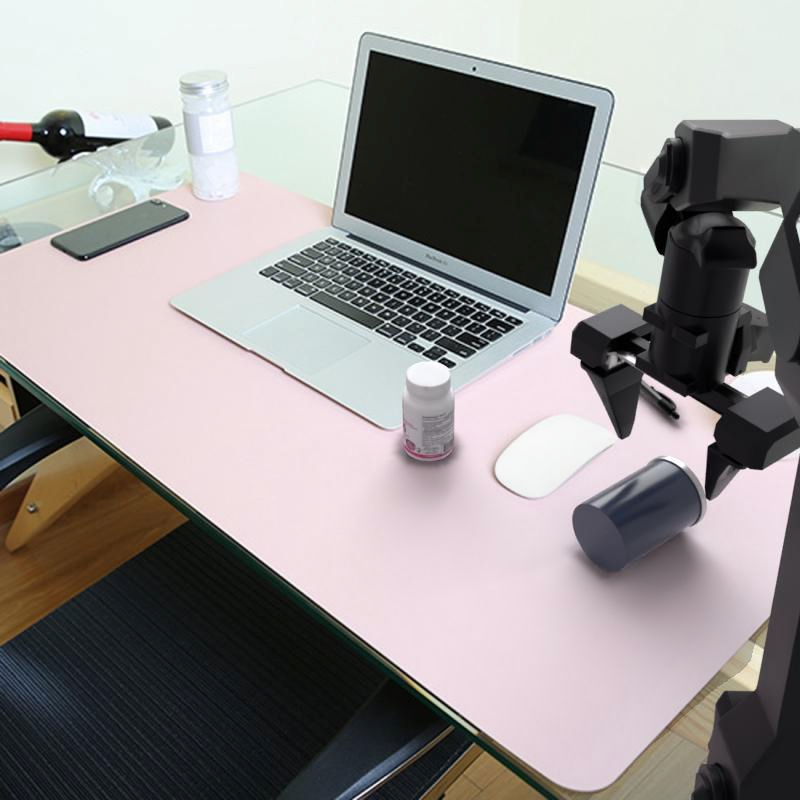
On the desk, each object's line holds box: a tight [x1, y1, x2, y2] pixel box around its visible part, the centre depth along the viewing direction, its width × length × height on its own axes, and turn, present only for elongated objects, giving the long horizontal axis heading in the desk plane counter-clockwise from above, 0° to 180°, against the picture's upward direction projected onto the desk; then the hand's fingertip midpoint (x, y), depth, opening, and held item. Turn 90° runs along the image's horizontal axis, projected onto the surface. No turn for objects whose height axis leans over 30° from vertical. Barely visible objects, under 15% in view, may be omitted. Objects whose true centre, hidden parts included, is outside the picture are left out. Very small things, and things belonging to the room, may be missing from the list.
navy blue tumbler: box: [571, 455, 708, 573], centre depth 77 cm, size 6×6×9 cm
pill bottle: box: [401, 360, 456, 462], centre depth 87 cm, size 5×5×8 cm
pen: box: [640, 379, 681, 421], centre depth 97 cm, size 14×2×1 cm, turn 23°
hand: (666, 466), depth 76 cm, fingers open, 9 cm apart
